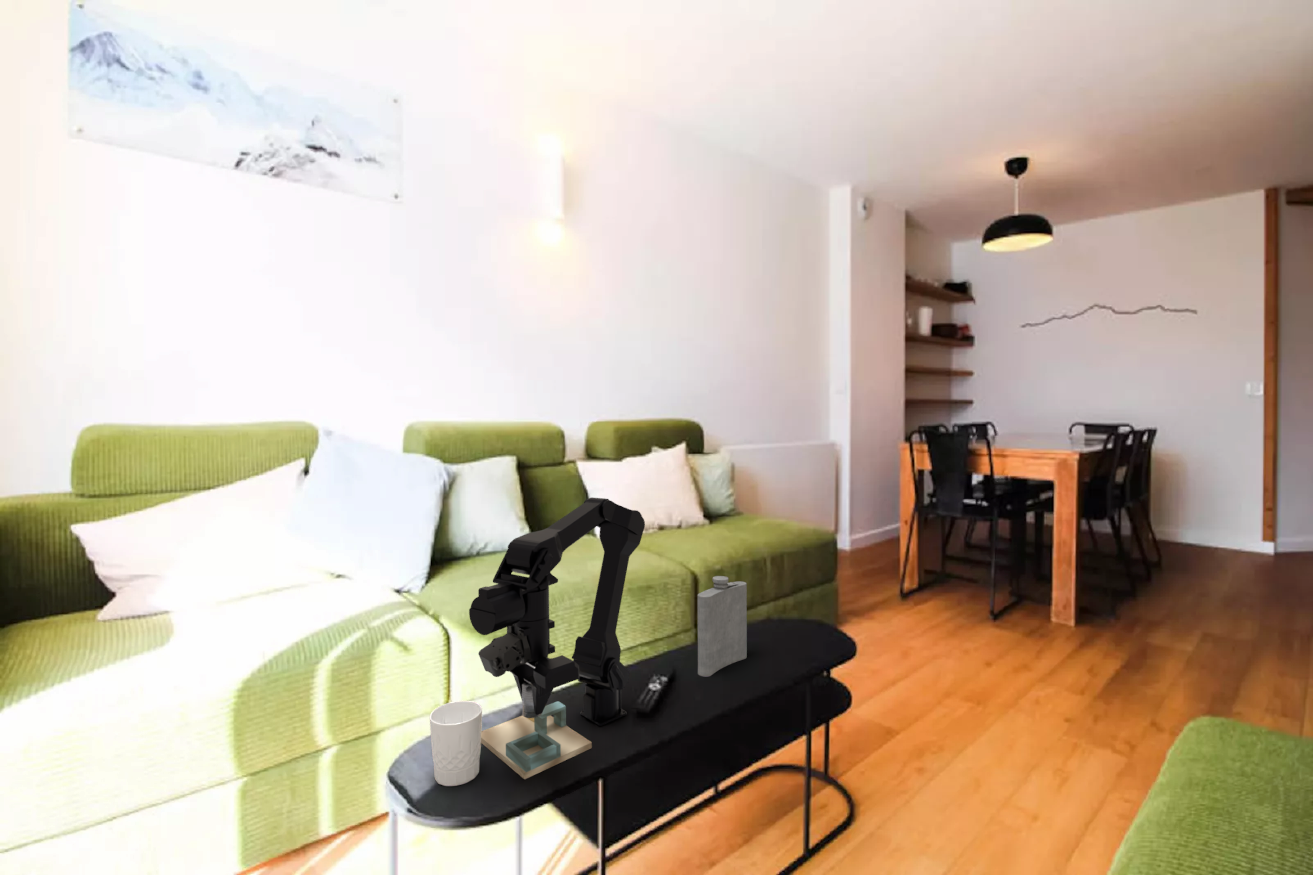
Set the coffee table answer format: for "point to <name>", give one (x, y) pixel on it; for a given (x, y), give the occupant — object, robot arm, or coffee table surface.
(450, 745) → the white cup
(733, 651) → the hip flask
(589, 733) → the coffee table surface
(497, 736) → the dock board
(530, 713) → the spigot peg
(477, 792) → the coffee table surface
